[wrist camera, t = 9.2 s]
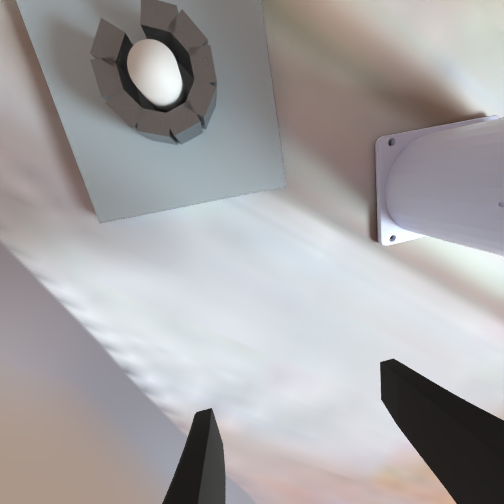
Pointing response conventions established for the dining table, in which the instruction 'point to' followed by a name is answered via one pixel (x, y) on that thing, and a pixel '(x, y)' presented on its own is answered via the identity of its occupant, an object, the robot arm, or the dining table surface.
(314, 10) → the dining table surface
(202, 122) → the split ring
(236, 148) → the stand
